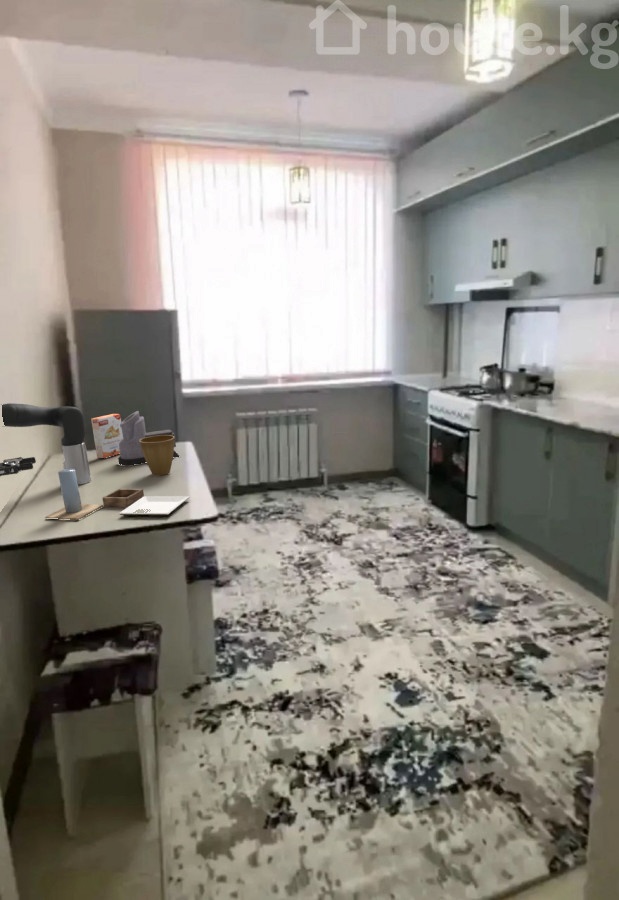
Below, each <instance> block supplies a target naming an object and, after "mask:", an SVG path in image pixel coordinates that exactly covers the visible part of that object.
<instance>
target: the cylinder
mask: <svg viewBox="0 0 619 900" xmlns="http://www.w3.org/2000/svg"><path fill="white" fill-rule="evenodd" d="M57 474H58V479H59V483H60V488H61V489H60V490H61V493H62V494H61V495H62V500H63V505H64V506H63V507H65V511H66V513H75V512H79V511H81V510H82V505H81V504H82V501H81V495H80V491H79V485H78V484H77V478H76V473H75V469H65V470H64V469H62V470H58V471H57Z"/></svg>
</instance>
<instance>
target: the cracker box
mask: <svg viewBox="0 0 619 900" xmlns="http://www.w3.org/2000/svg"><path fill="white" fill-rule="evenodd" d="M90 419H91V421H90V422H91V426H92V432H93V433H92V434H93V440H94V446H95V451H96V459H99V458H106V457H109V456H113V455H116V456H118V455H117V454H119V453H120V448H119V443H120V441H121V440H122V439H123V434H122V428H121V427H120V424H121V422H122V418H121V414H119V413H111V414H107V415H102V416H98V417H93V418H90ZM113 457H114V456H113ZM106 459H107V458H106Z"/></svg>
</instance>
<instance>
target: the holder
mask: <svg viewBox="0 0 619 900" xmlns="http://www.w3.org/2000/svg"><path fill="white" fill-rule="evenodd" d="M144 496H145V492H144V489H143V488H140V489H138V488H117V489H116V490H114V491H113V492H110V493H109V494H107V495H105V496H103V497H102V505H103V507H104V506H114V507H113V508H127V507H129V506H130V505H132V504H133V503H135V502H136V501H138V500H139V499H141V498H142V497H144ZM115 506H116V507H115ZM117 506H118V507H117Z"/></svg>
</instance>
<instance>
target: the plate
mask: <svg viewBox="0 0 619 900" xmlns="http://www.w3.org/2000/svg"><path fill="white" fill-rule="evenodd" d="M188 499H190V496H189V495H144V497H142V498H141V499H139V500H138V501H136V502H135V503H133V504H132V505H130V506H129V507H125V509H122V511H120V512H119V513H118V514H119V515H120V516H128V515H149V516H148V517H150V516H151V517H152V516H153V517H157V516H158V517H161V516H162V517H165V516H168V515H170V514H171V513H172V512H174V511H175V510H176V509H177V508H178V507H180V506H181V505H183V504H184V502H186V501H187V500H188ZM138 509H140V510H141V509H143V510H144V509H145V510H146V509H148V510H149V509H150V510H151V511H150V510H149V511H150V512H149V511H148V512H147V513H145V512H146V511H147V510H146V511H145V510H144V511H145V512H144V513H137V512H136V513H133V512H135V511H136V510H138Z"/></svg>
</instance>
